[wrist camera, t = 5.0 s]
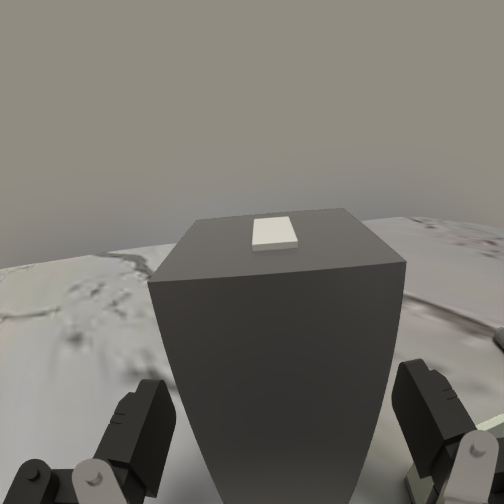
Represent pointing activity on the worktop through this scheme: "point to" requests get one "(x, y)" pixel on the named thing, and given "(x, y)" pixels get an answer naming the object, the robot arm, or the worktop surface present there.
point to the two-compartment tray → (496, 426)
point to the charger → (281, 348)
